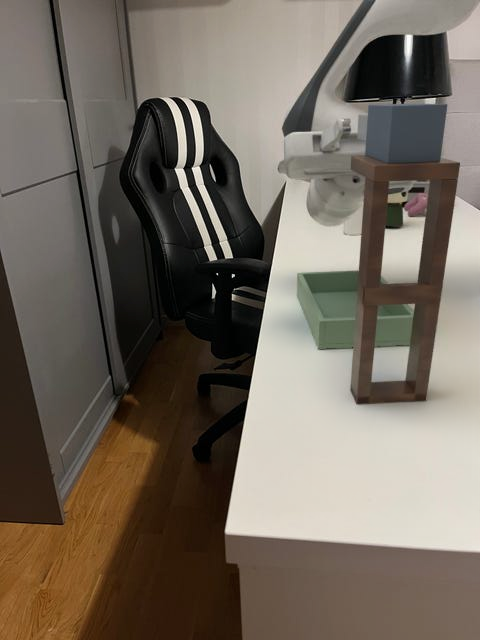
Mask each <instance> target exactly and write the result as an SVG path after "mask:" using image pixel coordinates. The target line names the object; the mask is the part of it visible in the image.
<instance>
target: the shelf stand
mask: <svg viewBox="0 0 480 640" xmlns="http://www.w3.org/2000/svg"><path fill="white" fill-rule="evenodd" d="M460 168H461V162H459V161H456V160H451V159H447V158H444V157H442V158H441V159H440V162H419V163H390V164H388V163H385V162H383V161H380V160H377V159H375V158H372V157H369V156H367V155H355V156H351V170H352V171H354V172H356V173H358V174H360V175H362V176H364V177H366V178H365V189H364V203H363V217H362V231H361V234H360V247H359V261H358V263H359V264H358V270H359V273H358V287H357V302H356V316H355V330H354V344H353V348H352V359H351V373H350V388H349V391H350V393H351V395H352V397H353V399H354V401H355V404H356V405H364V404H365V405H366V404H367V405H368V404H386V403H405V402H404V401H410V402H427V398H428V390H429V383H430V376H431V370H432V363H433V362H432V361H433V355H434V349H435V348H434V347H435V341H436V334H437V329H438V321H439V314H440V306H441V300H442V294H443V288H444V279H445V271H446V265H447V257H448V252H449V245H450V238H451V230H452V224H453V216H454V210H455V203H456V195H457V188H458V183H459V180H458V179H459V175H460ZM417 180H430V184H429V192H428V200H427V208H426V209H425V218H424V225H423V234H422V241H421V248H420V249H421V250H420V258H419V266H418V275H417V282H401V283H400V282H398V283H396V282H395V283H388V284H380V281H381V276H382V269H383V260H384V259H383V258H384V247H385V236H386V235H385V234H386V226H387V225H386V214H387V203H388V192H389V181H417ZM397 304H408V305H414V307H413V311H414V315H413V323H412V331H411V339H410V345H409V349H408V357H407V364H406V372H405V373H406V374H405V380H388V381H384V380H383V381H372V380H373V367H374V358H375V357H374V356H375V348H376V347H375V336H376V325H377V314H378V305H397ZM424 400H425V401H424ZM401 401H402V402H401Z"/></svg>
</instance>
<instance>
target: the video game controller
mask: <svg viewBox="0 0 480 640" xmlns="http://www.w3.org/2000/svg"><path fill="white" fill-rule="evenodd" d="M427 200H428V195H427V194H425V193H419V194H418V195H416V196H415V197H414V198H413V199H412V200H410V201H409V202H408V203H406V205H405V206H404V207H403V210H404V211H406V212H407V216H408V217H416V216H420V215H421V214H422V213H423V212H424V211H426V208H427Z"/></svg>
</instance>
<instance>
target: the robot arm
mask: <svg viewBox="0 0 480 640" xmlns="http://www.w3.org/2000/svg"><path fill="white" fill-rule="evenodd" d="M479 4H480V0H362V1H361V2H360V4H359V6H358V7H357V9H356V10H355V11H354V13H353V15H352V16H351V18H350V19H349V21H348V22H347V24H346V25H345V26H344V28H343V29H342V31H341V33H340V34H339V36H338V37H337V39H336V40H335V42H334V43H333V45H332V47H331V48H330V50H329V51H328V52H327V54H326V55H325V57H324V59H323V60H322V62H321V63H320V65H318V68H317V69H316V71H315V72H314V73H313V75H312V77H311V78H310V79H309V81H308V83H307V84H306V86H305V87H304V88H303V89H302V91H301V92H300V93H299V94H298V95H297V96H296V97H295V98H294V100H293V101H292V102H291V104H290V105H289V107H288V108H287V111H286V113H285V115H284V118H283V123H282V126H281V130H282V134H283V137H284V139H283V159H281V160H280V161H279V162H278V165H277V172H278V173H279V174H284V175H286V177H287V178H289V179H290V180H296V181H297V180H302V181H304V180H305V181H306V180H311V181H310V184H309V186H308V190H307V195H306V209H307V210H306V211H307V212H308V215H309V217H311V219H312V220H313V221H314V222H315V223H317V224H318V225H320V226H323V227H328V228H329V227H331V228H332V227H333V228H335V227H338V226H341V225H344V222H346V221H347V220H349V219H350V218H351V217H352V216H353V215H354V214H355V213H356V212H357V211H358V210H359V208H360V207H361V205H362V204H363V202H364V189H365V178H366V177H364V176H362V175H360V174H358V173H356V172H354V171H352V170H351V156H355V155H365V149H366V141H364V140H360V139H357V132H358V116H359V114H368V111H365V110H362V109H360V108H359V107H357V106H354V105H352V103H351V104H350V103H349V102H346V101H344V100H342V99H340V98H339V97H338V96H337V94H336V89H337V88H338V86H339V85H340V83H341V82H342V80H343V79H344V77H345V76H346V74H347V73H348V72H349V70H350V68H351V67H352V65H353V64H354V63H355V61H356V60H357V58H358V56H360V55H361V53H362V51H363V50H364V48H365V47H366V46H367V45H368V44H369V43H370V42H372V41H374V40H376V39H377V38H380V37H384V36H385V37H386V36H393V35H394V36H395V35H397V36H398V35H405V36H431V35H438V34H443V33H445V32H449V31H451V30H454V29H455V28H457V27H459V26H460V25H462V24H463V23H464V22H466V21H467V20H468V19H469V18H470V17H471V16H472V14H473V13H474V11H475V10H476V8H478V6H479ZM444 142H445V141H443V143H442V151H441V158H444V155H445V154H444V153H445V145H444ZM412 186H413V181H389V192H388V195H390V194H395V193H400V192H406V191H408V190H410V189H411V188H412Z"/></svg>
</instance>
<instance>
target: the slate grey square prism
mask: <svg viewBox="0 0 480 640" xmlns="http://www.w3.org/2000/svg"><path fill="white" fill-rule="evenodd" d="M367 112H368V114H367V113H366V114H359V116H358V132H357V139H360V140H364V141H366V149H365V155H367V156H369V157H372V158H375V159H377V160H380V161H383V162H385V163H388V164H390V163H419V162H440V159H441V151H442V143H443V142H444V135H445V127H446V126H445V125H446V119H447V112H448V104H447V103H391V104H388V103H385V104H368V109H367Z"/></svg>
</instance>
